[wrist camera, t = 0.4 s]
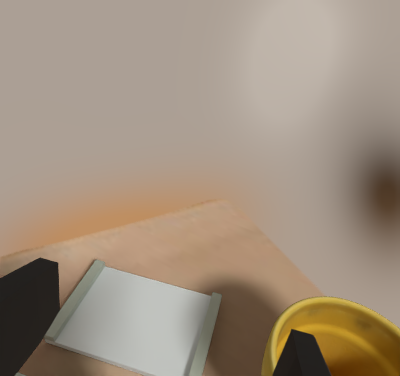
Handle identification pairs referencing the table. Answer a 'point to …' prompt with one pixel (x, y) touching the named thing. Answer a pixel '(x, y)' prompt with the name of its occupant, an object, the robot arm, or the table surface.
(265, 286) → the table surface
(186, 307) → the glass lid
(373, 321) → the plant pot
